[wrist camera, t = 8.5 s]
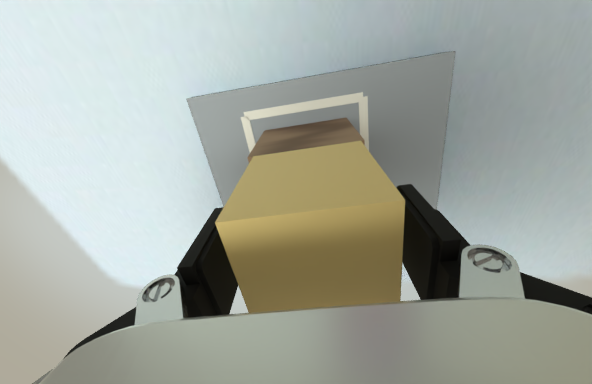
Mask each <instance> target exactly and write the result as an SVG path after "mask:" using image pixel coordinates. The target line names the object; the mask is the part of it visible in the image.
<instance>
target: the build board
mask: <svg viewBox="0 0 592 384" xmlns="http://www.w3.org/2000/svg"><path fill="white" fill-rule="evenodd" d="M454 59H455V51H451V52H444V53H438V54H433V55H427V56H421V57H416V58H410V59H405V60H399V61H393V62H388V63H382V64H376V65H371V66H365V67H360V68H354V69H348V70H343V71H337V72H332V73H326V74H320V75H315V76H309V77H304V78H298V79H292V80H287V81H281V82H275V83H270V84H264V85H259V86H253V87H247V88H242V89H236V90H231V91H225V92H219V93H214V94H208V95H202V96H197V97H192V98H188V99H187V102H188V105H189V108H190V111H191V114H192V117H193V120H194V122H195V125H196V128H197V131H198V134H199V137H200V140H201V143H202V146H203V148H204V151H205V154H206V157H207V160H208V163H209V166H210V169H211V172H212V174H213V177H214V180H215V183H216V186H217V189H218V192H219V195H220V198H221V200H222V203H223V206H225V204H226V203H227V201H228V199H229V197H230V196H231V194H232V192H233V191H234V189H235V187H236V185H237V184H238V182H239V180H240V178H241V177H242V175H243V173H244V172H245V170H246V168H247V166H248V165H249V162H248V158H247V157H248V156H249V154H250V152H251V151H252V149H253V148H254V146H255V145H256V143H257V141H258V140H259V138H260V137H261V135H262V134H263V132H264V131H265V130H270V129H276V128H283V127H289V126H295V125H302V124H308V123H314V122H321V121H327V120H333V119H340V118H347V119H348V120H349V121H350V123H351V124H352V125H353V126H354V128H355V129H356V130H357V131H358V133H359V134H360V135H361V136H362V138H363V139H364V140H365V147H366V148H367V149H368V151H369V152H370V153H371V155H372V156H373V158H374V159H375V160H376V162H377V163H378V164H379V166H380V167H381V168H382V170H383V171H384V172H385V174H386V175H387V176H388V178H389V179H390V180H391V182H392V183H393V184H394V186H395V187H396V188H397V186H398V185H405V184H412V185H413V186H414V187H415V188H416V190H417V191H418V192H419V193H420V194H421V195H422V196H423V197H424V198H425V200H426V201H427V202H428V203H429V204H430V205H431V206H432V207H433V208H434V209H436V210H437V202H438V194H439V186H440V177H441V169H442V160H443V152H444V144H445V135H446V127H447V118H448V110H449V102H450V93H451V85H452V76H453V68H454Z"/></svg>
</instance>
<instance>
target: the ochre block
mask: <svg viewBox="0 0 592 384" xmlns="http://www.w3.org/2000/svg"><path fill="white" fill-rule="evenodd" d="M404 214H405V199H404V198H403V196H402V195H401V194H400V192H399V191H398V190H397V188H396V187H395V186H394V184H393V183H392V182H391V180H390V179H389V178H388V176H387V175H386V174H385V172H384V171H383V170H382V168H381V167H380V166H379V164H378V163H377V162H376V160H375V159H374V158H373V156H372V155H371V153H370V152H369V151H368V149H367V148H366V147H365V145H364V144H363V143H362V141H355V142H348V143H341V144H334V145H328V146H321V147H314V148H307V149H300V150H294V151H287V152H280V153H273V154H266V155H260V156H253V158H252V159H251V161H250V163H249V165H248V166H247V168H246V170H245V172H244V173H243V175H242V177H241V178H240V180H239V182H238V184H237V185H236V187H235V189H234V191H233V192H232V194H231V196H230V197H229V199H228V201H227V203H226V204H225V206H224V208H223V209H222V211H221V213H220V215H219V216H218V218H217V220H216V222H215V224H216V227H217V230H218V232H219V235H220V238H221V240H222V243H223V246H224V248H225V251H226V254H227V256H228V259H229V261H230V264H231V267H232V269H233V272H234V275H235V277H236V280H237V283H238V285H239V288H240V290H241V293H242V296H243V298H244V301H245V304H246V306H247V309H248V312H249V313H252V312H264V311H277V310H290V309H303V308H316V307H329V306H342V305H355V304H369V303H383V302H397V301H400V296H401V276H402V255H403V235H404Z"/></svg>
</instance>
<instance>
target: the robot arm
mask: <svg viewBox="0 0 592 384" xmlns="http://www.w3.org/2000/svg"><path fill="white" fill-rule="evenodd" d="M397 190H398V191H399V192H400V194H401V195H402V196H403V198H404V199H405V214H404V235H403V255H402V262H403V264H404V266H405V268H406V270H407V273H408V275H409V277H410V279H411V281H412V283H413V285H414V287H415V288H416V291H417V293H418V295H419V297H420V299H421V300H413V301H412V300H411V301H397V302H383V303H369V304H355V305H342V306H329V307H316V308H303V309H290V310H277V311H264V312H252V313H240V314H229V313H230V310H231V306H232V303H233V300H234V297H235V293H236V290H237V287H238V283H237V280H236V277H235V275H234V272H233V269H232V267H231V264H230V261H229V259H228V256H227V254H226V251H225V248H224V246H223V243H222V240H221V238H220V235H219V232H218V230H217V227H216V224H215V222H216V220H217V218H218V216H219V215H220V213H221V211H222V209H223V208H224V207H222V208H215V209H214V211H213V212H212V214H211V215H210V217H209V219H208V220H207V222H206V223H205V225H204V226H203V228H202V230H201V231H200V233H199V234H198V236H197V237H196V239H195V241H194V242H193V244H192V245H191V247H190V248H189V250H188V251H187V253H186V255H185V256H184V258H183V259H182V261H181V262H180V264H179V266H178V267H177V269H178V270H177V272H176V273H175V275H171V274H170V275H164V276H161V277H158V278H157V279H155V280H153V281H151V282H150V283H149V284H147V285H146V286H145V287H144V288H143V289H142V291H141V292H140V293H139V296H138V299H137V307H135V308H134V309H132V310H130V311H129V312H127V313H126V314H124V315H123V316H121V317H119V318H118V319H116V320H114V321H113V322H111V323H110V324H108V325H106V326H105V327H103V328H102V329H100V330H98V331H97V332H95V333H94V334H92V335H90V336H89V337H87V338H85V339H84V340H83V341H81V342H80V343H78V344H77V345H76V346H75V347H74V348H73V349H71V350H70V352H68V354H67V355H66V356H65V357H64V359H63V360H62V361H61V362H60V363H59V364H58V365H57V366H56V367H55V368H54V369H52V370H51V371H49V372H48V373H46V374H45V375H44V376H42V377H41V378H40V379H38V380H37V381H35V382H34V383H32V384H592V298H591V297H589V296H585V295H583V294H580V293H577V292H574V291H572V290H569V289H566V288H563V287H560V286H558V285H555V284H552V283H549V282H546V281H543V280H541V279H538V278H535V277H532V276H529V275H526V274H524V273H521V272H520V271H519V266H518V264H517V262H516V260H515V259H514V258H513V257H512V256H511V255H509V254H508V253H506V252H505V251H503V250H500V249H498V248H496V247H492V246H488V245H480V244H479V245H470V244H469V243H468V242H467V241H466V240H465V239H464V238H463V237H462V236H461V234H460V233H459V232H458V231H457V230H456V229H455V228H454V227H453V226H452V225H451V224H450V223H449V221H448V220H447V219H446V218H445V217H444V216H443V215H442V214H441V213H440V212H439V211H438V210H436V209H434V208H433V207H432V206H431V205H430V204H429V203H428V202H427V201H426V200H425V198H424V197H423V196H422V195H421V194H420V193H419V192H418V191H417V190H416V188H415V187H414V186H413V185H412V184H405V185H398V186H397Z"/></svg>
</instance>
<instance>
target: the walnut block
mask: <svg viewBox="0 0 592 384" xmlns="http://www.w3.org/2000/svg"><path fill="white" fill-rule="evenodd" d="M355 141H362V143H363V144H364V145H365V140H364V139H363V138H362V136H361V135H360V134H359V133H358V131H357V130H356V129H355V128H354V126H353V125H352V124H351V123H350V121H349V120H348V119H347V118H340V119H333V120H327V121H321V122H314V123H308V124H302V125H295V126H289V127H283V128H276V129H270V130H265V131H264V132H263V134H262V135H261V137H260V138H259V140H258V141H257V143H256V145H255V146H254V148H253V149H252V151H251V152H250V154H249V156H248V157H247V158H248V162H249V163H250V161H251V159H252V158H253V156H260V155H266V154H273V153H280V152H287V151H294V150H300V149H307V148H314V147H321V146H328V145H334V144H341V143H348V142H355Z"/></svg>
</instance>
